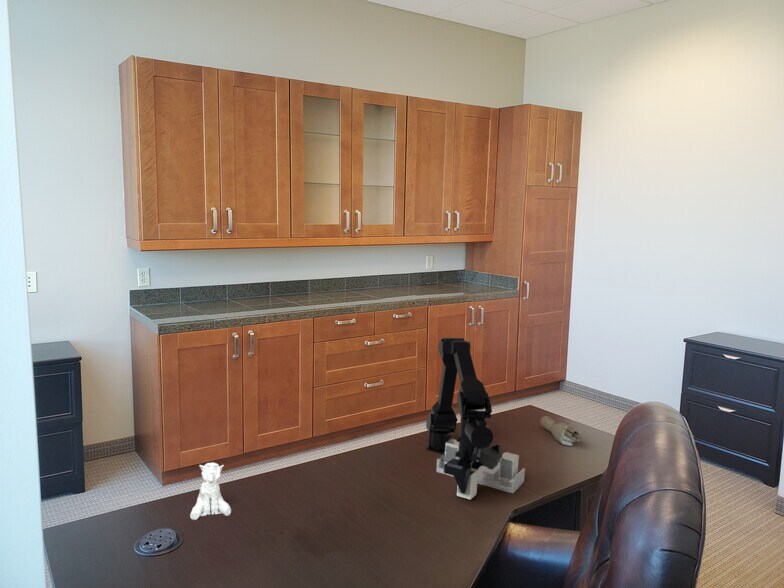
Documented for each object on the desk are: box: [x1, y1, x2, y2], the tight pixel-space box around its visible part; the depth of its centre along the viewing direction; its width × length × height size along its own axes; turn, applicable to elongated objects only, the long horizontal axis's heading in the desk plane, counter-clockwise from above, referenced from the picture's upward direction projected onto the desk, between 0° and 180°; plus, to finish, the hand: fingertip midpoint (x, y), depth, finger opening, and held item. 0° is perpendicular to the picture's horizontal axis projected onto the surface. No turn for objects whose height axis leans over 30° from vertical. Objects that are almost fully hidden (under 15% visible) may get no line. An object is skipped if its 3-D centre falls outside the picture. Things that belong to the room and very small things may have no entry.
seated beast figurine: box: [189, 462, 232, 521], centre depth 149 cm, size 10×9×12 cm
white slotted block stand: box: [435, 438, 526, 494], centre depth 176 cm, size 24×9×8 cm, turn 59°
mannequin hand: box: [539, 415, 582, 447], centre depth 209 cm, size 7×7×25 cm
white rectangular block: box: [456, 468, 478, 500], centre depth 163 cm, size 4×4×7 cm
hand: (466, 489), depth 164 cm, fingers closed on white rectangular block, 4 cm apart
